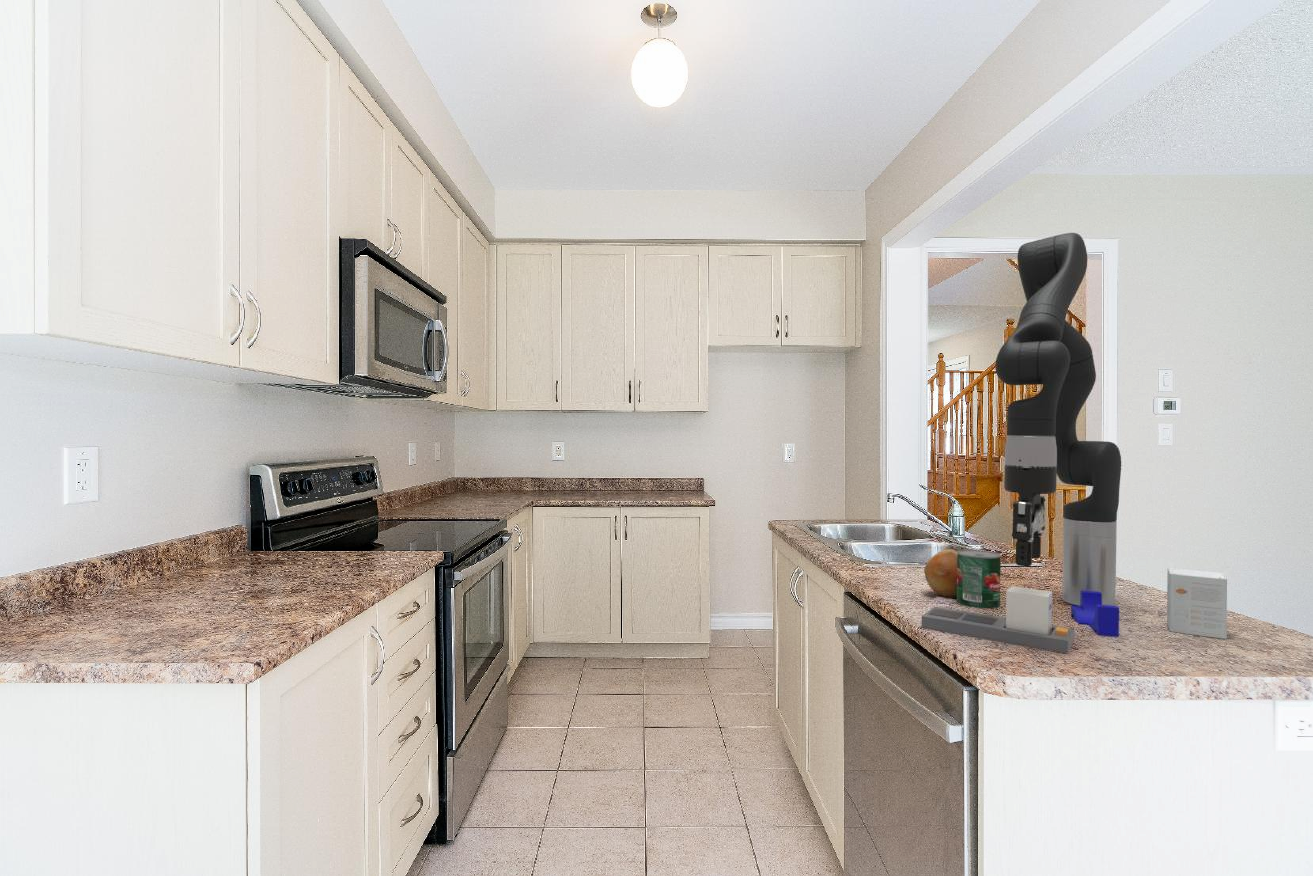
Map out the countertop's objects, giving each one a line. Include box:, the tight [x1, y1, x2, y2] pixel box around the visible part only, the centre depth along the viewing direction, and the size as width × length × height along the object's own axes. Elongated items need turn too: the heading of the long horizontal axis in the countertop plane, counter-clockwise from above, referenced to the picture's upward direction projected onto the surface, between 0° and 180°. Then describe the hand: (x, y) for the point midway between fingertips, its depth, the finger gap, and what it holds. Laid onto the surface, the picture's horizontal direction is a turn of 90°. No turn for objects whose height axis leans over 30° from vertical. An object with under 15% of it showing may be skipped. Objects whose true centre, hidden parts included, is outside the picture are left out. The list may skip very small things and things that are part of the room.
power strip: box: [921, 606, 1075, 655], centre depth 114 cm, size 8×22×4 cm, turn 52°
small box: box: [1166, 567, 1228, 640], centre depth 119 cm, size 8×6×10 cm
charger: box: [1005, 585, 1053, 635], centre depth 111 cm, size 4×6×8 cm
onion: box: [923, 548, 958, 599], centre depth 143 cm, size 10×10×10 cm
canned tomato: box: [956, 549, 1002, 609], centre depth 134 cm, size 8×8×11 cm
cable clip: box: [1070, 590, 1120, 638], centre depth 119 cm, size 12×4×6 cm, turn 160°
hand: (1028, 561), depth 111 cm, fingers open, 8 cm apart
